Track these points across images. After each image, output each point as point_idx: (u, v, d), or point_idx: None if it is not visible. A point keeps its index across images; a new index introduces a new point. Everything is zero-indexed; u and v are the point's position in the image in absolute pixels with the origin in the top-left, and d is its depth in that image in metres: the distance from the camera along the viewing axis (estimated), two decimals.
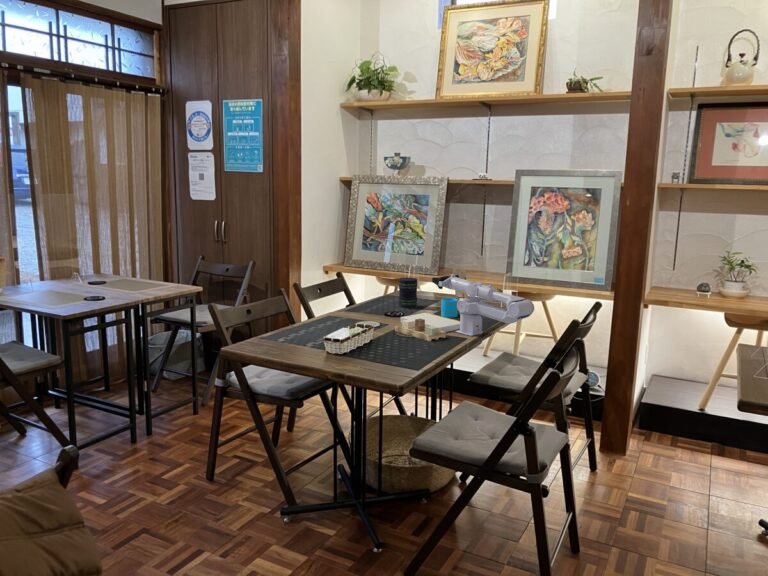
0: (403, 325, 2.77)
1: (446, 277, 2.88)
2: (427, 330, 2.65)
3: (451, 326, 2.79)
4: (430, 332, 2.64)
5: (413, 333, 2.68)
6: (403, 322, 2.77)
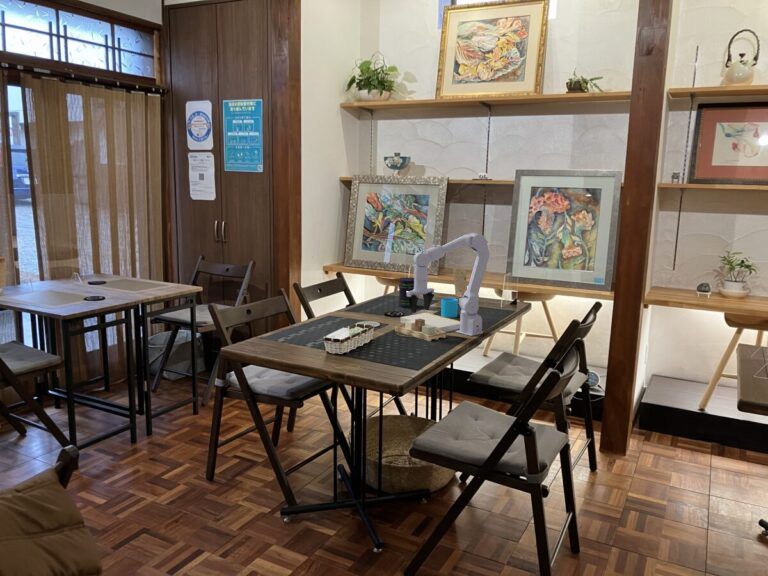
0: (406, 326, 2.76)
1: (425, 306, 2.73)
2: (423, 329, 2.67)
3: (451, 326, 2.79)
4: (426, 331, 2.66)
5: (413, 333, 2.68)
6: (406, 323, 2.75)
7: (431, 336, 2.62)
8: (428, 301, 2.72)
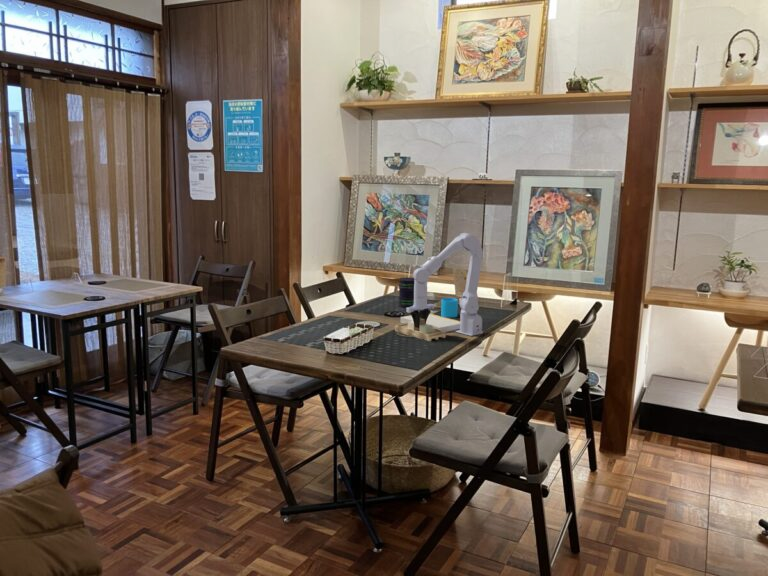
0: (409, 326, 2.74)
1: None
2: (421, 328, 2.68)
3: (451, 326, 2.79)
4: (424, 330, 2.67)
5: (413, 332, 2.68)
6: (409, 323, 2.74)
7: (431, 335, 2.62)
8: (424, 317, 2.71)
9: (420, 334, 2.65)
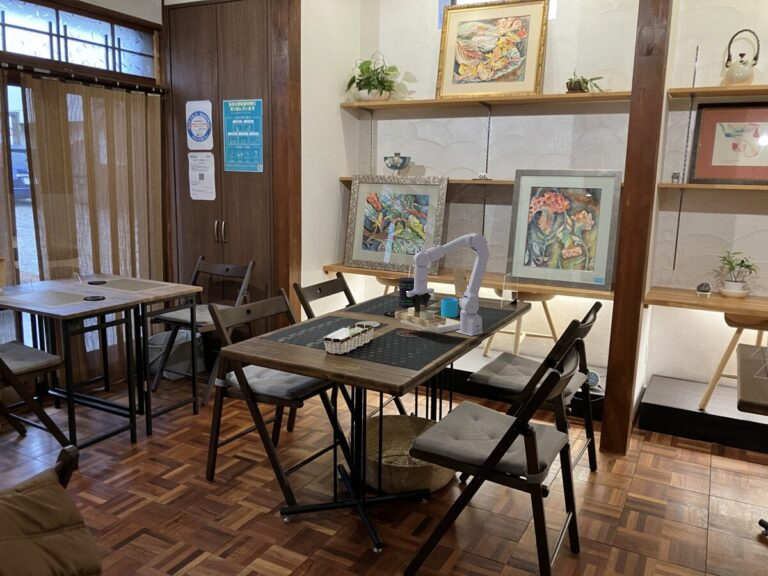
0: (409, 313, 2.73)
1: None
2: (421, 314, 2.67)
3: (451, 326, 2.79)
4: (424, 316, 2.66)
5: (414, 319, 2.67)
6: (409, 310, 2.73)
7: (431, 322, 2.61)
8: (425, 302, 2.70)
9: (420, 320, 2.64)
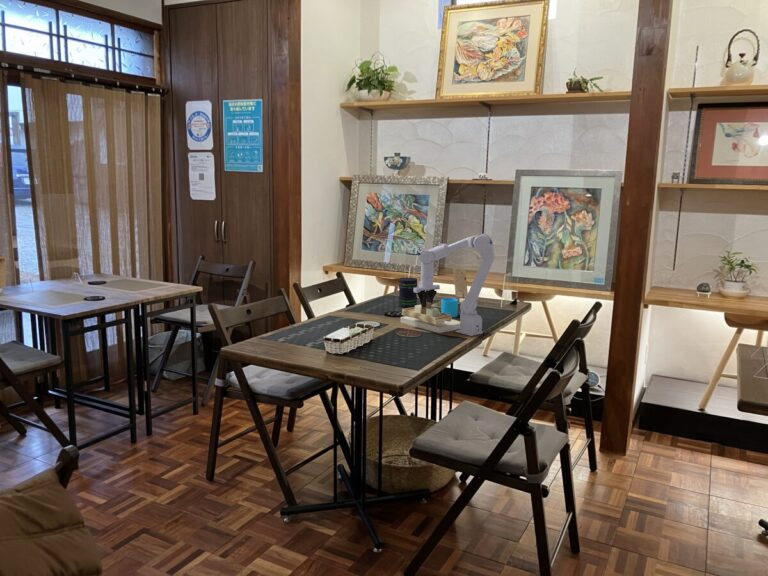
0: (416, 310, 2.83)
1: None
2: (428, 311, 2.77)
3: (451, 326, 2.79)
4: (430, 313, 2.75)
5: (420, 315, 2.76)
6: (416, 307, 2.82)
7: (438, 318, 2.70)
8: (431, 297, 2.80)
9: (427, 317, 2.73)
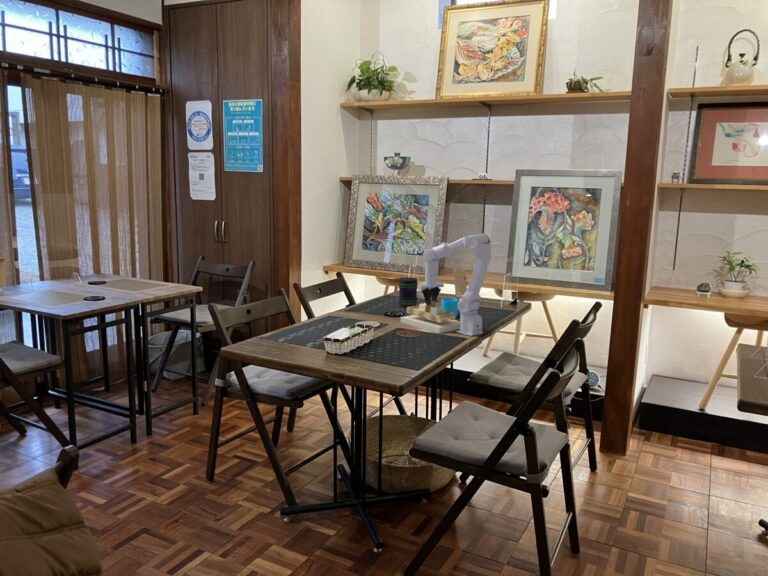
0: (420, 308, 2.90)
1: (432, 300, 2.88)
2: (432, 310, 2.84)
3: (451, 326, 2.79)
4: (434, 312, 2.82)
5: (425, 314, 2.83)
6: (420, 305, 2.89)
7: (442, 317, 2.77)
8: (435, 295, 2.87)
9: (431, 316, 2.80)
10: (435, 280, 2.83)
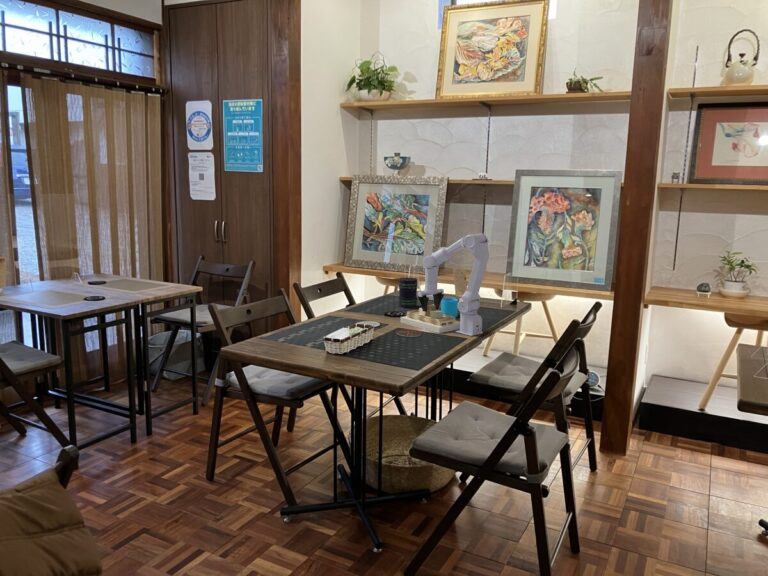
0: (420, 312, 2.90)
1: (435, 305, 2.90)
2: (432, 314, 2.84)
3: (451, 326, 2.79)
4: (434, 315, 2.83)
5: (425, 318, 2.84)
6: (420, 310, 2.90)
7: (442, 320, 2.77)
8: (438, 301, 2.88)
9: (431, 319, 2.80)
10: (435, 286, 2.83)
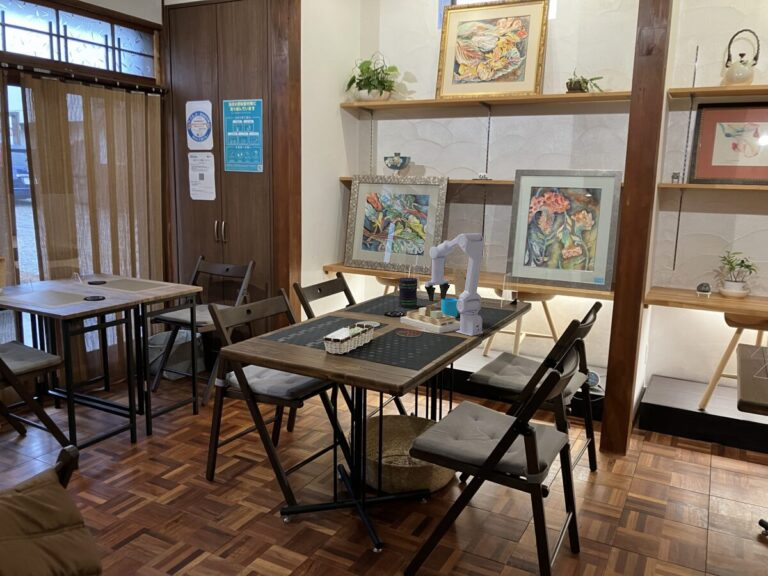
0: (420, 312, 2.90)
1: (441, 295, 2.98)
2: (432, 314, 2.84)
3: (451, 326, 2.79)
4: (434, 315, 2.83)
5: (425, 318, 2.84)
6: (420, 310, 2.90)
7: (442, 320, 2.77)
8: (444, 291, 2.96)
9: (431, 319, 2.80)
10: (441, 277, 2.91)
